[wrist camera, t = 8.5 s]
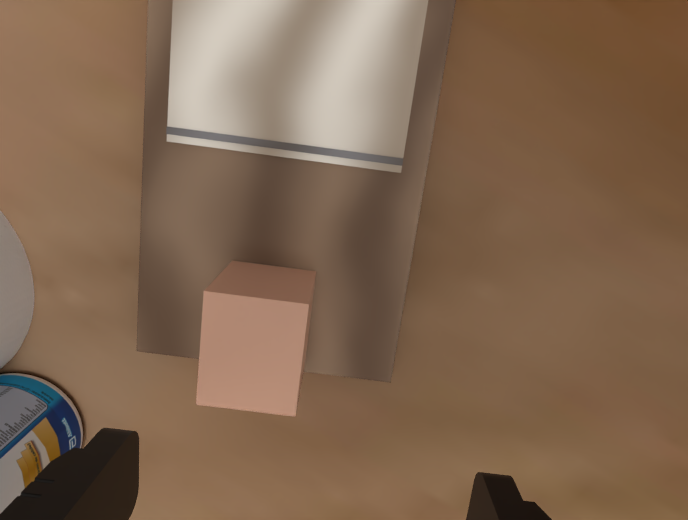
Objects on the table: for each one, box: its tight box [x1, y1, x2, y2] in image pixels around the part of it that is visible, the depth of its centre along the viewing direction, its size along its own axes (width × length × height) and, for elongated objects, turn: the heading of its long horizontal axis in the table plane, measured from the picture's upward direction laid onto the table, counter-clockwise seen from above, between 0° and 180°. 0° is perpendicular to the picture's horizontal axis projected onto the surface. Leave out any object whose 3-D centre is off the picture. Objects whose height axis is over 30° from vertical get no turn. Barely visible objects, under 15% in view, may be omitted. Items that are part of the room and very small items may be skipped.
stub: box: [196, 261, 316, 416], centre depth 27 cm, size 5×6×6 cm
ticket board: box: [137, 0, 456, 382], centre depth 28 cm, size 16×24×2 cm, turn 172°
